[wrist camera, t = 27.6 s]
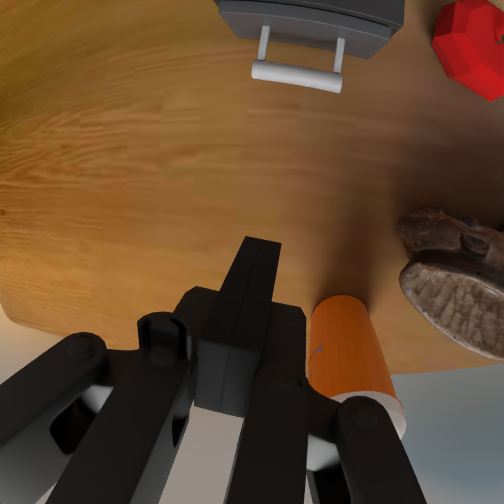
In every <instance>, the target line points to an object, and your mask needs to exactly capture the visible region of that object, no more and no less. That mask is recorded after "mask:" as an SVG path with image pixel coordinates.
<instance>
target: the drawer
mask: <svg viewBox="0 0 504 504" xmlns="http://www.w3.org/2000/svg"><path fill="white" fill-rule="evenodd" d="M218 13H219V14H220V15H221V16H222V18H223V19H224V20H225V21H226V23H227V24H228V25H229V26H230V28H231V29H232V30H233V32H234V33H235V34H236V35H237V37H238V38H250V39H260V44H259V50H258V56H257V60H254V62H253V65H252V78H253V79H262V80H269V81H276V82H283V83H289V84H295V85H301V86H307V87H312V88H317V89H322V90H327V91H331V92H336V93H340V91H341V87H342V81H343V75H341V74H340V73H341V66H342V60H343V53H344V54H349V55H353V56H357V57H361V58H364V59H369V58H370V57H371V56H372V55H374V54H375V53H376V52H377V51H378V50H379V49H381V48H382V47H383V46H384V45H385V44H386V43H388V42H389V41H390V38H391V27H388V26H385V25H382V24H378V23H375V22H373V21H372V20H368V19H365V18H361V17H357V16H353V15H349V14H344V13H342V14H339V13H334V12H329V11H324V10H319V9H313V8H307V7H301V6H294V5H286V4H278V3H276V2H269V1H257V0H242V1H237V0H221V1H220V5H219V11H218ZM268 40H269V41H278V42H285V43H292V44H298V45H305V46H310V47H316V48H321V49H326V50H331V51H335V58H334V65H333V72H328V71H323V70H318V69H313V68H307V67H301V66H295V65H289V64H282V63H275V62H268V61H265V59H266V53H267V47H268Z"/></svg>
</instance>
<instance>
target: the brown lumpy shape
mask: <svg viewBox="0 0 504 504" xmlns="http://www.w3.org/2000/svg"><path fill="white" fill-rule="evenodd" d="M397 230H398V234H399V236H400V239H401V241H402V244H403V246H404V248H405V251H406V253H407V255H408V258H409V260H410V261H409V262H408V264H407V265H406V266H405V267H404V268H403V270H402V271H401V273H400V276H399V282H400V287H401V289H402V292H403V294H404V295H405V297H406V298H407V300H408V301H409V302H410V303H411V304H412V305H413V306H414V307H415V309H416V310H417V311H418V312H419V313H420V314H421V315H422V316H423V317H424V318H425V319H426V320H427V321H428V322H429V323H430V324H431V325H432V326H434V327H435V328H436V329H438V330H439V331H440V332H442V333H443V334H445V335H446V336H448V337H449V338H450V339H452V340H453V341H455V342H457V343H458V344H460V345H462V346H463V347H465V348H467V349H468V350H470V351H472V352H474V353H477V354H479V355H481V356H484V357H487V358H491V359H495V360H501V361H504V226H503V229H502V231H501V232H498V231H496V230H494V229H492V228H489V227H485V226H479V223H478V220H477V219H476V218H472V217H470V216H463V217H461V218H459V219H458V220H456V219H454V218H452V217H450V216H447V215H444V211H443V209H442V208H441V207H440V206H437V207H435V208H432V207H431V208H420V209H418V210H416V209H413V210H410V211H408V212H407V213H406V216H405V217H404V218H401V219H399V220H398V223H397Z"/></svg>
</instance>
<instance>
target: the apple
mask: <svg viewBox="0 0 504 504" xmlns="http://www.w3.org/2000/svg"><path fill="white" fill-rule="evenodd" d="M432 47H433V49H434V51H435V53H436V55H437V56H438V58H439V60H440V62H441V64H442V66H443V68H444V70H445V72H446V74H447V76H448V77H450V78H451V79H453V80H455V81H457V82H458V83H460V84H462V85H463V86H465V87H467V88H468V89H470V90H471V91H473V92H475V93H476V94H478V95H480V96H482V97H483V98H485V99H487V100H488V101H490V102H491V101H493V100H495V99H497V98H499V97H501V96H503V95H504V12H503V11H502V10H500V9H499V8H497V7H496V6H495V5H493V4H492V3H490V2H489V1H487V0H460V1H457V2H453V3H451V4H448V5H445V6H443V7H442V9H441V11H440V14H439V16H438V18H437V20H436V26H435V31H434V36H433V41H432Z"/></svg>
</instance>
